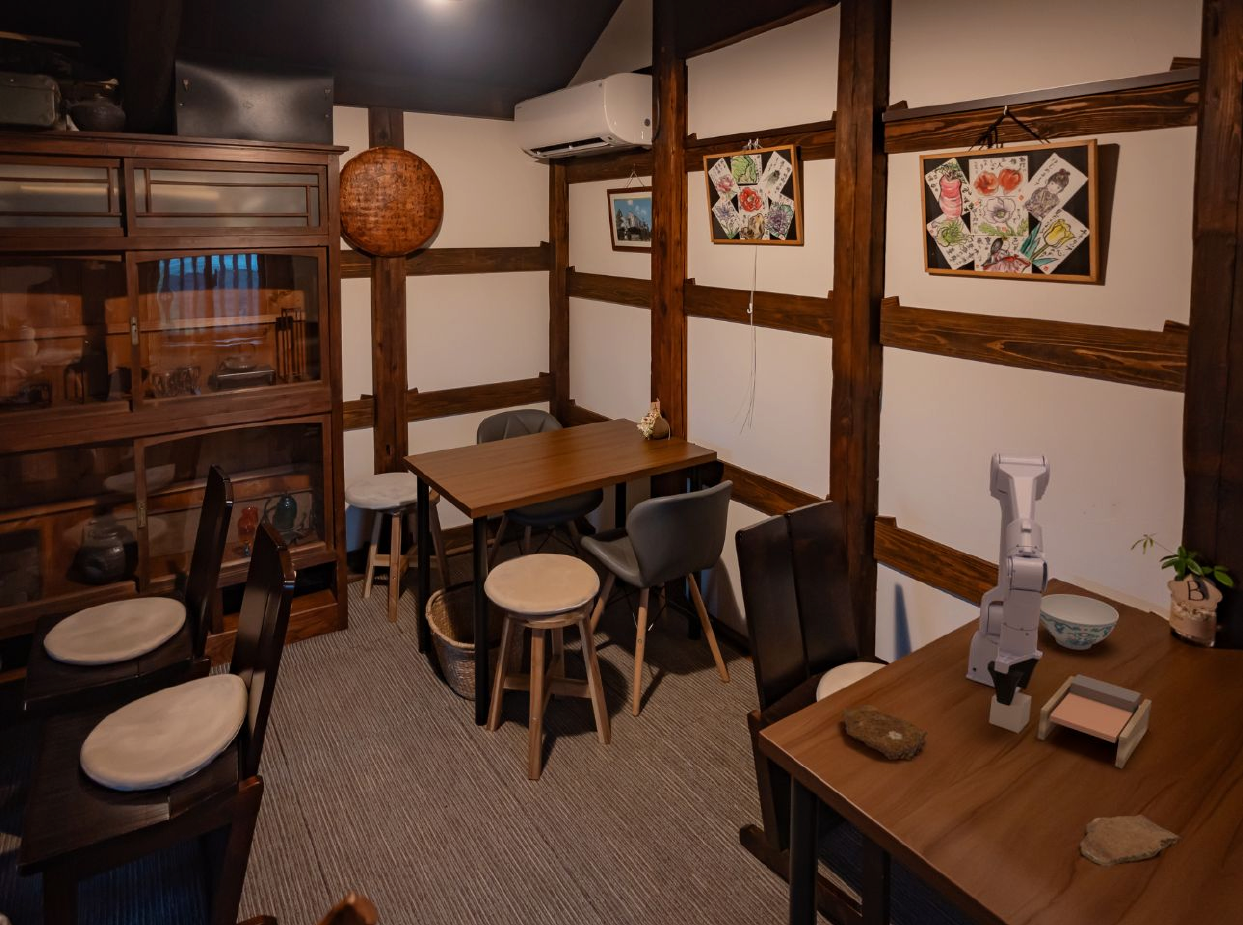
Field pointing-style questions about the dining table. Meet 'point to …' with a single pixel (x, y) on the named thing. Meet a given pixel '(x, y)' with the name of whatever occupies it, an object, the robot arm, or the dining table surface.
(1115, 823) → the pottery shard
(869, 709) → the decorative rock
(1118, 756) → the frame
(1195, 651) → the dining table surface
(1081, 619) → the chinaware
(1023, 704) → the beige cube
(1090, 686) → the trapdoor
